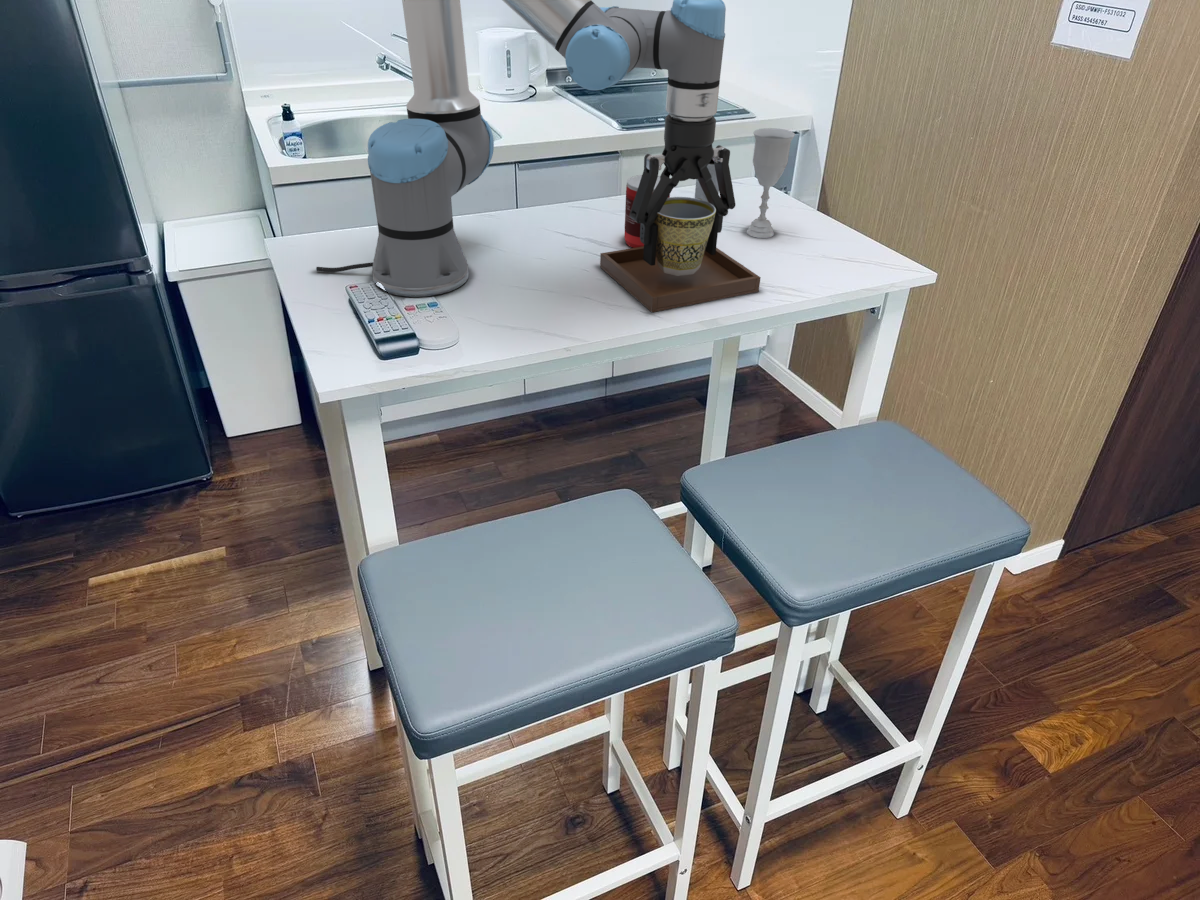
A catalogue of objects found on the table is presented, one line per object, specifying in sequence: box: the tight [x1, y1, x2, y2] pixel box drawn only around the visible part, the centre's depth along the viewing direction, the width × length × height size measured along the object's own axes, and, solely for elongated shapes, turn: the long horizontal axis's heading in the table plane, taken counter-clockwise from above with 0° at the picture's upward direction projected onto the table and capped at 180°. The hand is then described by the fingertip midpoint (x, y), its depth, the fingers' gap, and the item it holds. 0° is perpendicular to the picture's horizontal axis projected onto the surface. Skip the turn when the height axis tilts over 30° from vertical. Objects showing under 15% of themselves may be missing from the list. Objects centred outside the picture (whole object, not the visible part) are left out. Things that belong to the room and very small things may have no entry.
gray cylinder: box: [694, 158, 720, 202], centre depth 161 cm, size 4×4×10 cm
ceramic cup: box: [654, 196, 716, 276], centre depth 134 cm, size 13×10×10 cm
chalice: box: [746, 127, 796, 239], centre depth 151 cm, size 7×7×18 cm
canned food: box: [623, 174, 671, 248], centre depth 148 cm, size 8×8×11 cm
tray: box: [599, 246, 761, 313], centre depth 138 cm, size 20×19×2 cm
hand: (679, 257), depth 136 cm, fingers closed on ceramic cup, 10 cm apart
